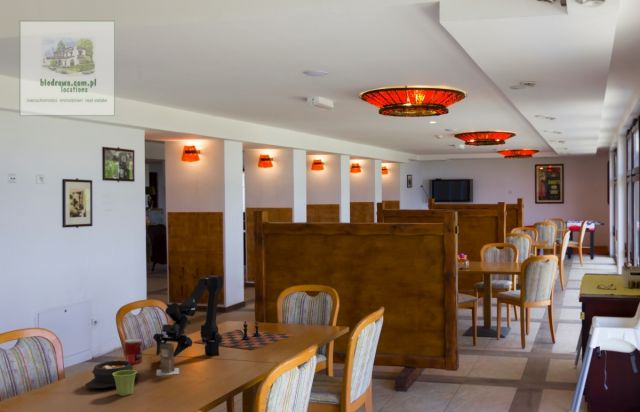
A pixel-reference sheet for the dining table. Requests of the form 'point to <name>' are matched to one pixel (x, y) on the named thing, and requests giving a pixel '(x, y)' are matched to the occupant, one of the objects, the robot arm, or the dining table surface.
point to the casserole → (108, 373)
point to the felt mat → (167, 373)
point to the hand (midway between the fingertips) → (165, 355)
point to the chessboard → (248, 338)
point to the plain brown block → (167, 357)
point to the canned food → (133, 350)
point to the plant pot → (124, 381)
